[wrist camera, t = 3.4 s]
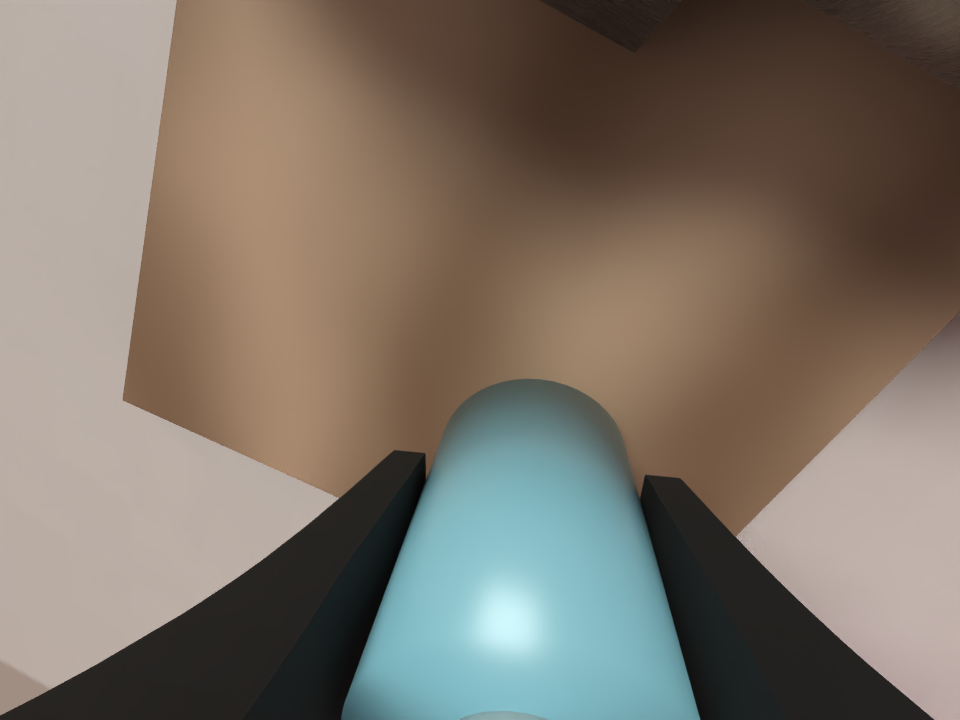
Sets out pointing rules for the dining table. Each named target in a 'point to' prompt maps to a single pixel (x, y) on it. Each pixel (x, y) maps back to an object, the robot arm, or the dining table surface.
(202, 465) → the dining table surface
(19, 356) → the dining table surface
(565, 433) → the blue bottle white cap
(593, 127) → the mounting board
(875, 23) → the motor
